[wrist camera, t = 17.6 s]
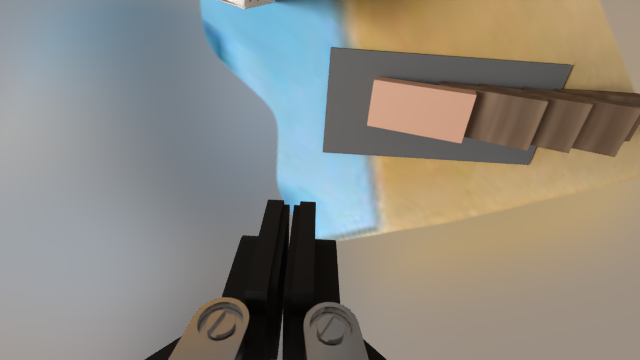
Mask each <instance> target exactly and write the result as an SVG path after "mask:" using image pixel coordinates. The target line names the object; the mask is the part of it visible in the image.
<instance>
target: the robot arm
mask: <svg viewBox="0 0 640 360" xmlns="http://www.w3.org/2000/svg"><path fill="white" fill-rule="evenodd" d="M289 213H290V205H284V200H268V202H267V206H266V210H265V213H264V217H263V221H262V225H261V229H260V233H259V236H245V235H243V236H242V238H241V240H240V243H239V246H238V249H237V252H236V255H235V258H234V262H233V264H232V268H231V270H230V274H229V277H228V280H227V283H226V286H225V289H224V292H223V295H222V298H218V299H214V300H212V301H210V302H208V303H206V304H204V305H203V306H202V307H200V308H199V310H198V311H197V312H196V313H195V315H194V316H193V318H192V319H191V321H190V323H189V325H188V326H187V328H186V330H185V332H184V333H183V335H182V336H181V337H180V338H178V339H176V340H175V341H173V342H172V343H170V344H169V345H167V346H165V347H164V348H163V349H161V350H159V351H158V352H156V353H154V354H153V355H151V356H150V357H148V358H147V359H145V360H277V356H278V348H279V340H280V331H281V323H282V314H283V360H386V359H385V358H384V357H383V356H382V355H381V354H379V353H378V352H377V351H376V350H375V349H374V348H373V347H372V346H370V345H369V344H368V343H367V342H366V341H365V340H364V339H363V337H362V334H361V330H360V327H359V323H358V321H357V319H356V317H355V315H354V314H353V313H352V312H351V310H350V309H348V308H347V307H345V306H344V305H341V304H340V295H339V281H338V264H337V249H336V241H335V240H322V239H315V215H316V202H303V201H301V202H300V205H294V211H293V219H292V227H291V236H290V243H289Z"/></svg>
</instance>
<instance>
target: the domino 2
mask: <svg viewBox="0 0 640 360" xmlns="http://www.w3.org/2000/svg"><path fill="white" fill-rule="evenodd" d="M438 85H440V86H446V87H453V88H460V89H467V90H473V91H476V94H477V96H476V99H475V102H474V105H473V108H472V112H471V115H470V118H469V121H468V124H467V127H466V130H465V133H464V137H466V138H471V139H475V140H480V141H485V142H489V143H494V144H498V145H503V146H508V147H512V148H517V149H521V150H526V151H527V150H528V148H529V146H530V143H531V141H532V139H533V136H534V134H535V132H536V129H537V127H538V125H539V123H540V120H541V118H542V116H543V113H544V111H545V109H546V106H547V104H548V100H547V98H546V97H540V96H534V95H528V94H521V93H515V92H509V91H503V90H497V89H490V88H484V87H478V86H472V85H465V84H459V83H453V82H447V81H441V82H440V83H439V84H438Z"/></svg>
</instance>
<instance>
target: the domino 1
mask: <svg viewBox="0 0 640 360" xmlns="http://www.w3.org/2000/svg"><path fill="white" fill-rule="evenodd" d="M476 96H477V94H476V91H473V90H467V89H460V88H453V87H446V86H440V85H433V84H426V83H419V82H412V81H406V80H399V79H392V78H385V77H376V78H375V79H374V83H373V89H372V96H371V102H370V109H369V115H368V122H367V126H372V127H377V128H383V129H388V130H393V131H398V132H404V133H409V134H414V135H419V136H424V137H430V138H435V139H440V140H445V141H451V142H456V143H462V140H463V137H464V133H465V130H466V127H467V124H468V121H469V118H470V115H471V112H472V108H473V105H474V102H475V99H476Z"/></svg>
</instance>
